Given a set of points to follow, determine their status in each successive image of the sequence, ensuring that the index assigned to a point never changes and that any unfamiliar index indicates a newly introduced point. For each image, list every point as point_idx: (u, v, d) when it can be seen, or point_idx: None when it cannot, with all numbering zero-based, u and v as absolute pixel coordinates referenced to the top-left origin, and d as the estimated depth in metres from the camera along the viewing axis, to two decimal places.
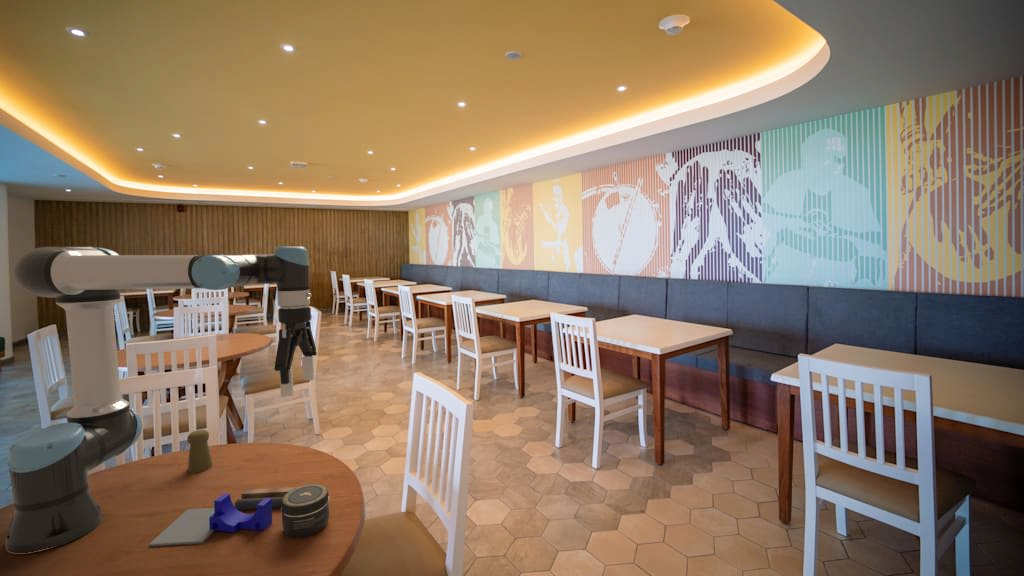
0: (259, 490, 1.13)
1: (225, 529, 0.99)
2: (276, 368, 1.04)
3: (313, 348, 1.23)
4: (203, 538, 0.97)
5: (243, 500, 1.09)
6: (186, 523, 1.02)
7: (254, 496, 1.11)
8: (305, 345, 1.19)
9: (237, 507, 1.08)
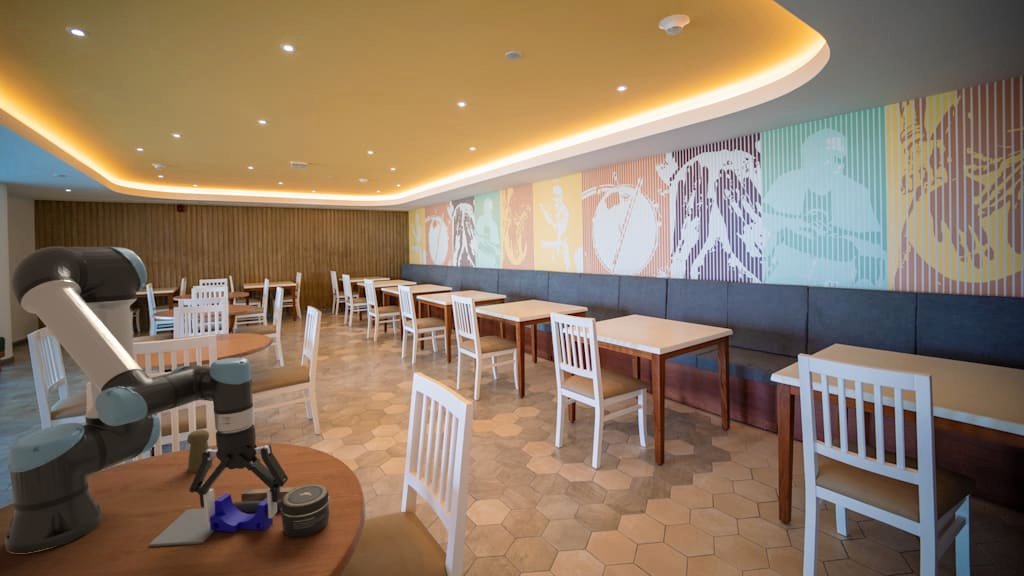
0: (259, 490, 1.13)
1: (226, 529, 0.99)
2: None
3: (276, 481, 1.00)
4: (203, 538, 0.97)
5: (239, 508, 1.07)
6: (186, 523, 1.02)
7: (254, 496, 1.11)
8: None
9: None
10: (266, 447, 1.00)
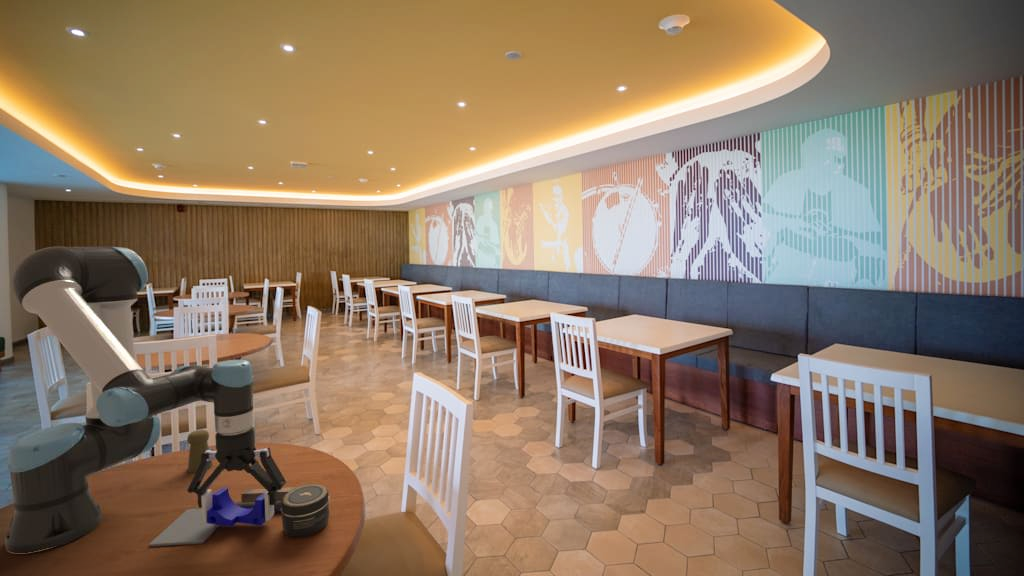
0: (259, 490, 1.13)
1: (223, 523, 1.00)
2: None
3: (274, 484, 1.00)
4: (203, 538, 0.97)
5: None
6: (186, 523, 1.02)
7: (254, 496, 1.11)
8: None
9: None
10: (265, 450, 1.00)
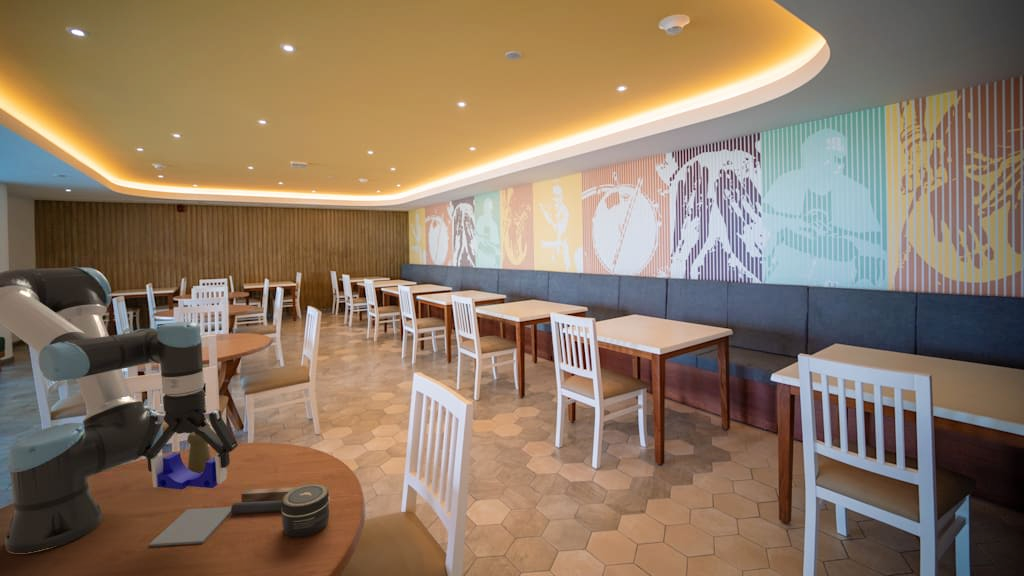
0: (259, 490, 1.13)
1: (173, 486, 0.99)
2: None
3: (225, 447, 1.00)
4: (203, 538, 0.97)
5: (238, 511, 1.06)
6: (186, 523, 1.02)
7: (254, 496, 1.11)
8: None
9: None
10: (215, 412, 0.99)
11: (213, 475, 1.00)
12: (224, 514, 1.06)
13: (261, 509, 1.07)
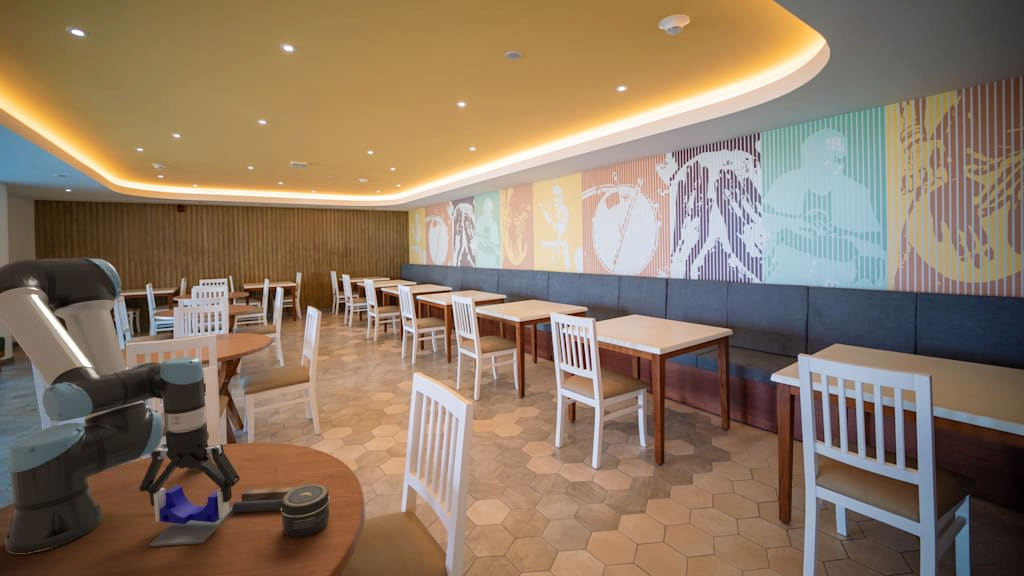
0: (259, 490, 1.13)
1: (176, 521, 0.99)
2: None
3: (227, 481, 1.00)
4: (203, 538, 0.97)
5: (239, 507, 1.07)
6: (186, 523, 1.02)
7: (254, 496, 1.11)
8: None
9: (236, 512, 1.08)
10: (217, 447, 1.00)
11: (215, 509, 1.00)
12: None
13: (262, 506, 1.07)
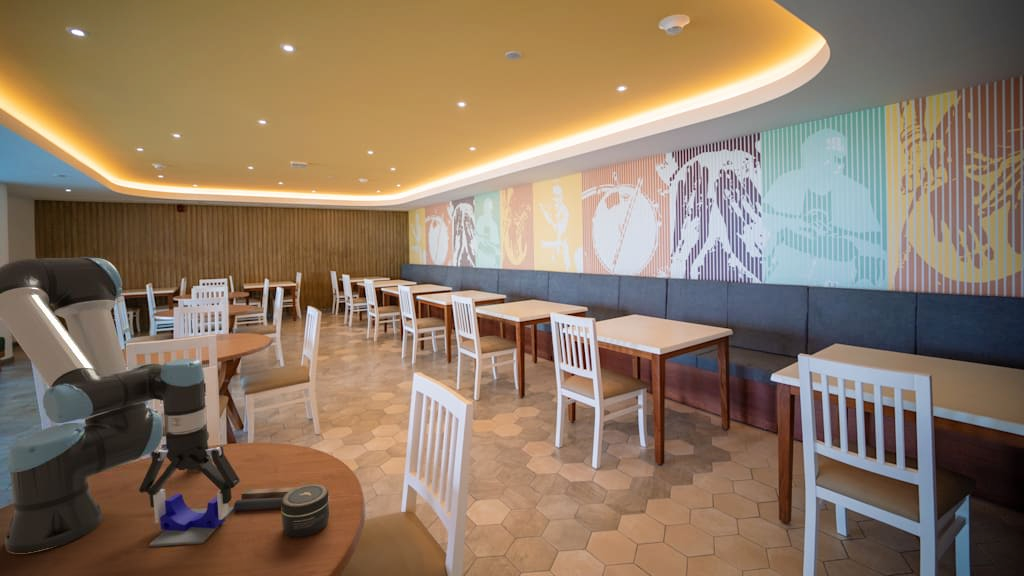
0: (259, 490, 1.13)
1: (176, 528, 1.00)
2: None
3: (227, 483, 1.00)
4: (203, 538, 0.97)
5: (242, 501, 1.08)
6: None
7: (254, 496, 1.11)
8: None
9: (237, 509, 1.08)
10: (217, 449, 1.00)
11: (215, 515, 1.01)
12: None
13: (265, 500, 1.09)
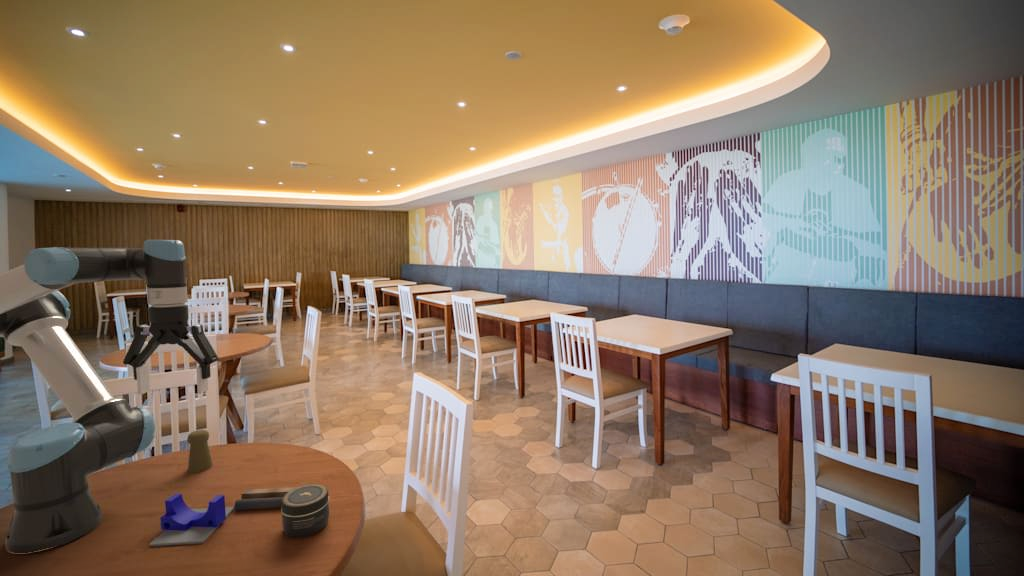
0: (259, 490, 1.13)
1: (177, 528, 1.00)
2: None
3: (206, 358, 1.05)
4: (203, 538, 0.97)
5: (243, 500, 1.09)
6: None
7: (254, 496, 1.11)
8: None
9: (237, 508, 1.08)
10: (197, 325, 1.05)
11: (217, 514, 1.01)
12: None
13: (265, 499, 1.09)
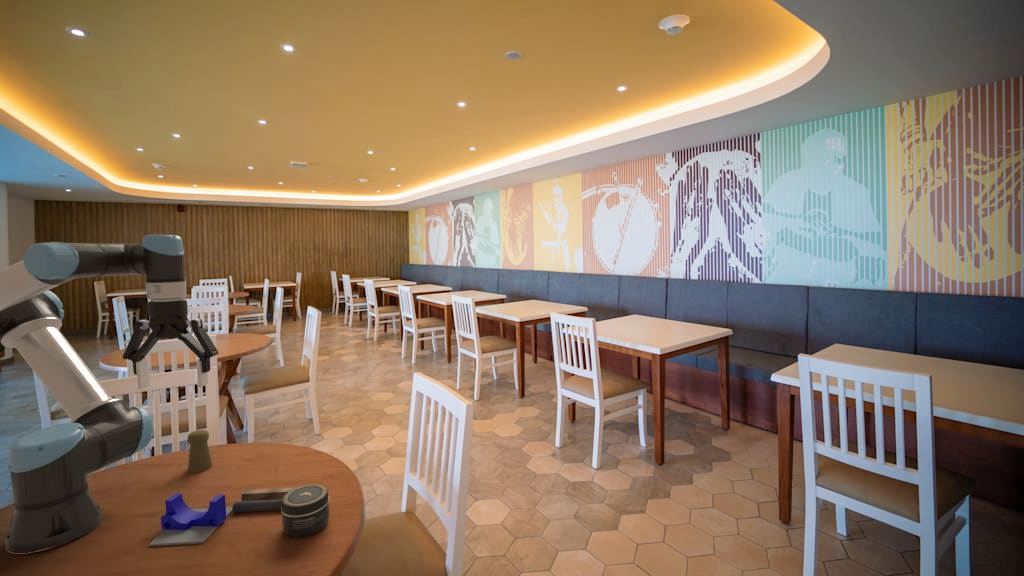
0: (259, 490, 1.13)
1: (177, 527, 1.00)
2: None
3: (206, 352, 1.06)
4: (203, 538, 0.97)
5: (239, 507, 1.07)
6: None
7: (254, 496, 1.11)
8: None
9: None
10: (196, 319, 1.06)
11: (217, 514, 1.01)
12: None
13: (262, 505, 1.08)
